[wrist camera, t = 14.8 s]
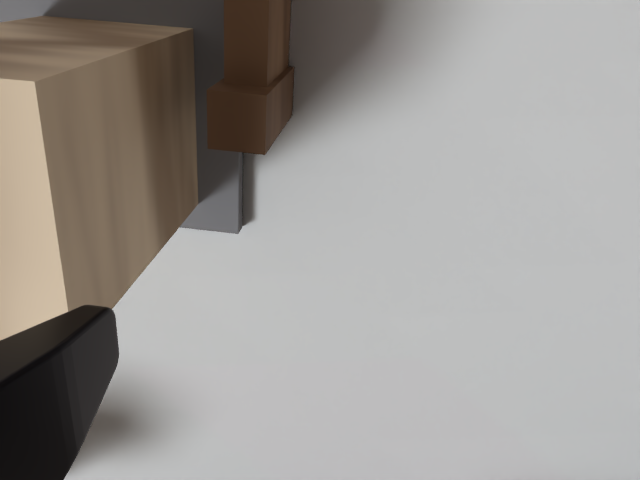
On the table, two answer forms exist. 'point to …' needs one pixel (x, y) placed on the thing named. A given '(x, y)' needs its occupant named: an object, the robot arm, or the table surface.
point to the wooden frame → (252, 78)
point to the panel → (208, 33)
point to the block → (90, 159)
